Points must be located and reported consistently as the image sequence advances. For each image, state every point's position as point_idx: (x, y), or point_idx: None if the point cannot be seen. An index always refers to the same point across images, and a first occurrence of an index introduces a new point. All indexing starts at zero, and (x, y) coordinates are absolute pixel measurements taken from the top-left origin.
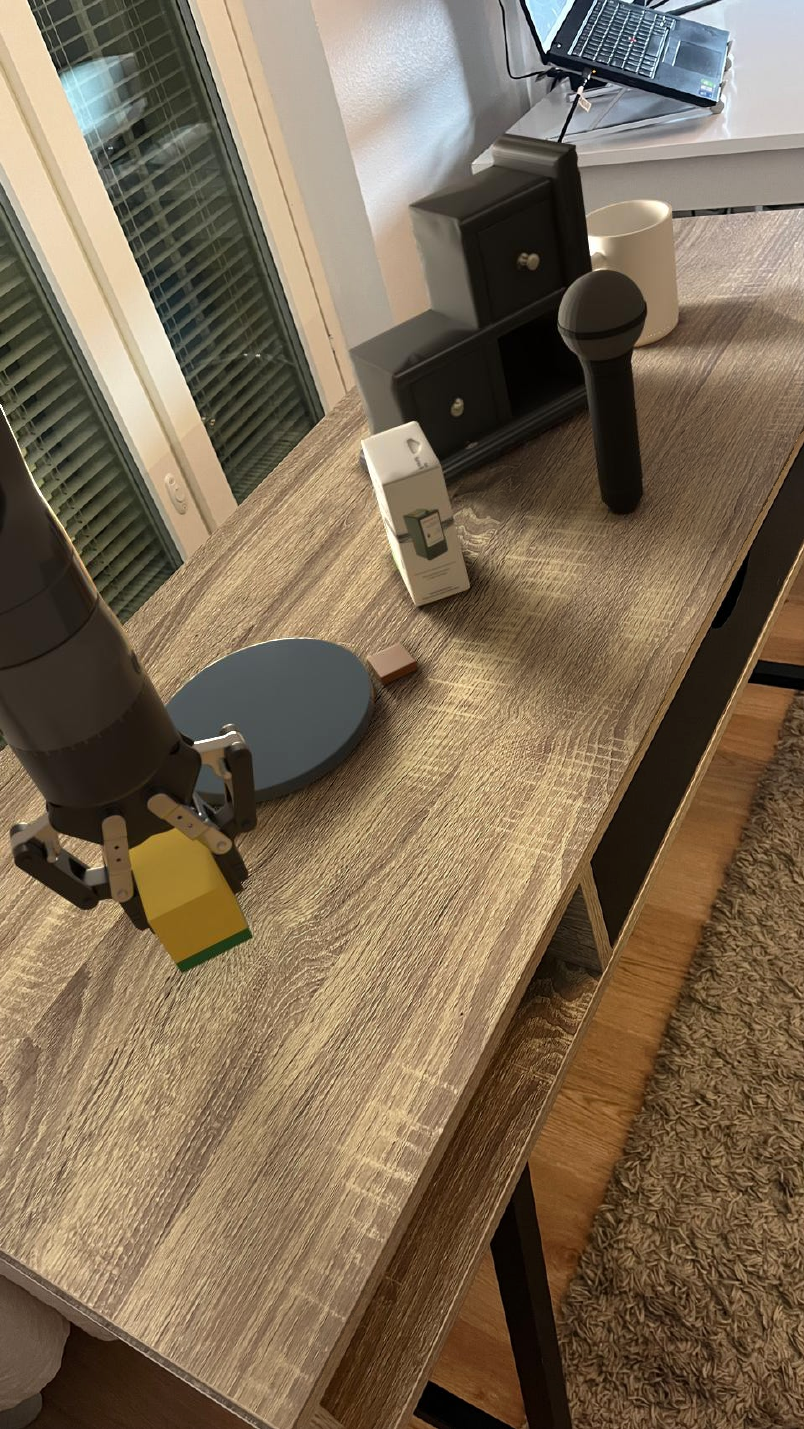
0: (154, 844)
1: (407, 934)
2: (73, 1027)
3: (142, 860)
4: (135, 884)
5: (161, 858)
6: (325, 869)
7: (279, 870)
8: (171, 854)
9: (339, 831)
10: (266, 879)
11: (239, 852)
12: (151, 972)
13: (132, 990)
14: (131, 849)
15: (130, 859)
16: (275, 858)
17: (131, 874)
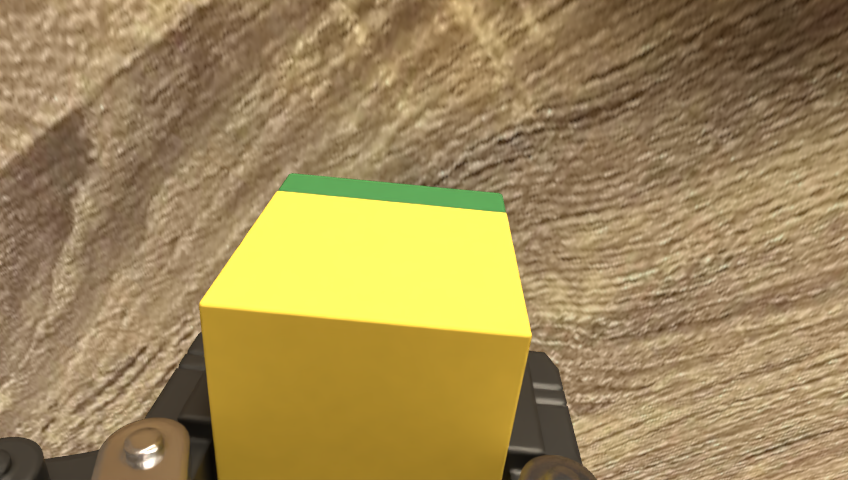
0: (319, 399)
1: (698, 448)
2: (53, 256)
3: (258, 438)
4: (216, 478)
5: (327, 466)
6: (688, 235)
7: (605, 165)
8: (366, 476)
9: (795, 152)
10: (564, 170)
11: (561, 390)
12: (236, 236)
13: (188, 252)
14: (225, 368)
15: (213, 408)
16: (619, 122)
17: (207, 456)
